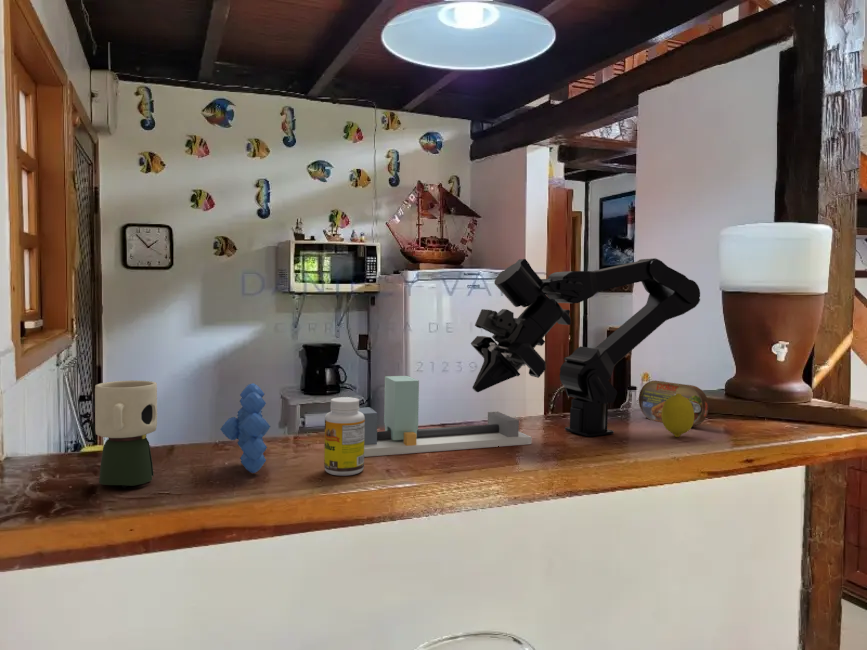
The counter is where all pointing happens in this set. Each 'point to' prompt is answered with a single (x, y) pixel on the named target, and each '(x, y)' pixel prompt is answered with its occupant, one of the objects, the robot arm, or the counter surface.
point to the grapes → (249, 428)
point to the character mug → (126, 430)
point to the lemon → (677, 415)
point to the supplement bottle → (344, 437)
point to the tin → (660, 391)
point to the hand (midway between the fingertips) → (474, 390)
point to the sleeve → (401, 405)
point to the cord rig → (443, 436)
